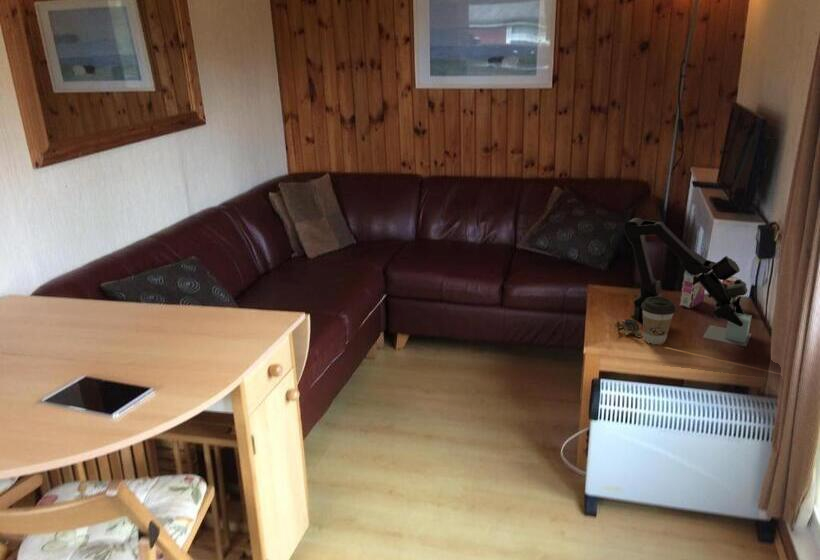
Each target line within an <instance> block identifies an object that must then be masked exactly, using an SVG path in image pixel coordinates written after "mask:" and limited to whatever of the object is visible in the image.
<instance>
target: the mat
mask: <svg viewBox="0 0 820 560" xmlns="http://www.w3.org/2000/svg"><path fill="white" fill-rule="evenodd" d="M726 329H727V327H726V328H725V327H720V326H717V325H716V326H715V325H711V324H709V326H708V327H707V329H706V331H705V333H704V334H703V336H702V338H705V339H709V340H714V341H717V342H718V341H719V342H722V343H727V344H733V345H736V346H737V345H738V346H740V347H741V346H742V347H747V345H748V343H749V341H750V339H751V336H752V333H750V332H749V334H748V337H747V339H746V342H745V343H743V342H738V341H734V340H729V339H725V335H726Z"/></svg>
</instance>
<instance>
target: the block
mask: <svg viewBox="0 0 820 560" xmlns="http://www.w3.org/2000/svg"><path fill="white" fill-rule="evenodd" d="M736 314H737V315H738V317H739V318H740V320H741V322H742V323H743V326H738V325H736V324H734V323H732V322H730V321H728V320H727V325H726V335H725V339H729V340H734V341H738V342H743V343H745V342H746V339H747V337H748V334H749V333H750V327H751V322H752V316H753V315H750V314H746V313H745V314H741V313H736Z"/></svg>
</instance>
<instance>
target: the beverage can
mask: <svg viewBox="0 0 820 560" xmlns="http://www.w3.org/2000/svg"><path fill="white" fill-rule="evenodd" d="M738 279H739V278H738V277H735V276H734V275H733V276H731V277H730V278H728V279H726V280H721V282H722V284H723V283H726V284H727V285H728V286H730V285H732V284H735V281H736V280H738ZM736 297H737V298H739V296H736Z"/></svg>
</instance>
